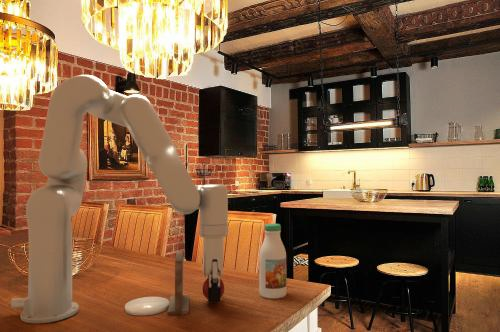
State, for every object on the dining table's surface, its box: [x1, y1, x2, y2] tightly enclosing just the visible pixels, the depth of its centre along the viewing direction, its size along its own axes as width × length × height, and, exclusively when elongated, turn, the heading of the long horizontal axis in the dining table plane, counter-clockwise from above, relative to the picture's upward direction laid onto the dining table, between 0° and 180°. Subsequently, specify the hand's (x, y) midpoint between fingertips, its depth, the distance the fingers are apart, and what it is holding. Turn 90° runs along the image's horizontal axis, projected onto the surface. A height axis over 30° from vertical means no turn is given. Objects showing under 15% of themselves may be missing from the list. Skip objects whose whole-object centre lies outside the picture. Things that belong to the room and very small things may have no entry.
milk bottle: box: [258, 223, 287, 300], centre depth 106 cm, size 8×8×20 cm
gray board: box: [167, 250, 190, 316], centre depth 97 cm, size 5×12×13 cm, turn 9°
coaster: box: [124, 296, 170, 317], centre depth 96 cm, size 11×11×1 cm
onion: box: [201, 273, 225, 300], centre depth 99 cm, size 6×6×8 cm
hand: (213, 297), depth 99 cm, fingers closed on onion, 5 cm apart
